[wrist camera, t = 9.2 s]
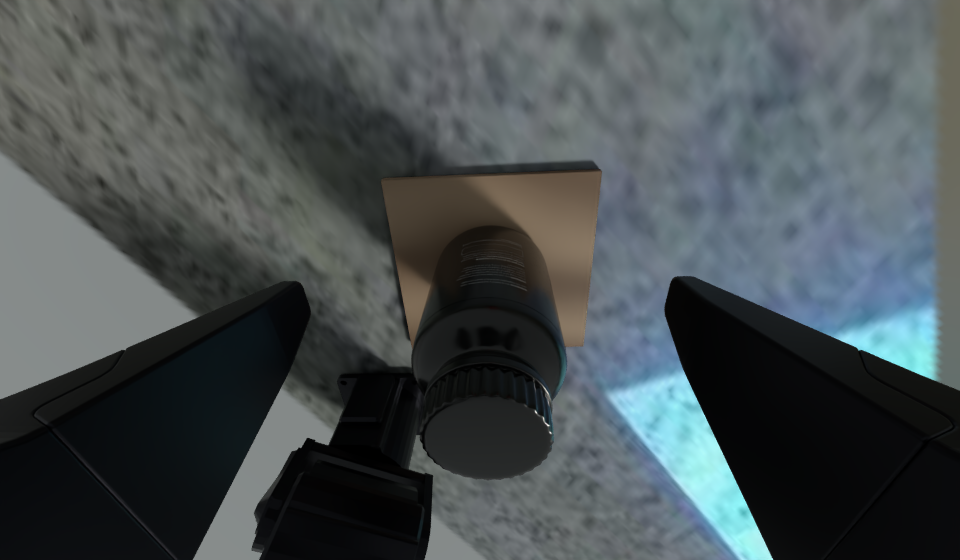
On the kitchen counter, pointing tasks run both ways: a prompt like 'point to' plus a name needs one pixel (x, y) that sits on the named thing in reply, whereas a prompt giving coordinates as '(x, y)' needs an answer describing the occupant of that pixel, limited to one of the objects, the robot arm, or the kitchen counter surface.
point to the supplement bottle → (489, 356)
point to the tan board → (503, 202)
